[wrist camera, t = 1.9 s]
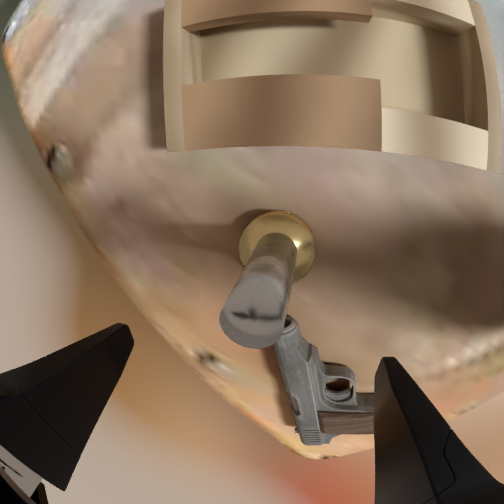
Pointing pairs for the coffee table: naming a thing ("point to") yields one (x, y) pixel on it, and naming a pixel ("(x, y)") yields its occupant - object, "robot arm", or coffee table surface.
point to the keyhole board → (333, 77)
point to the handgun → (319, 392)
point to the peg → (267, 277)
